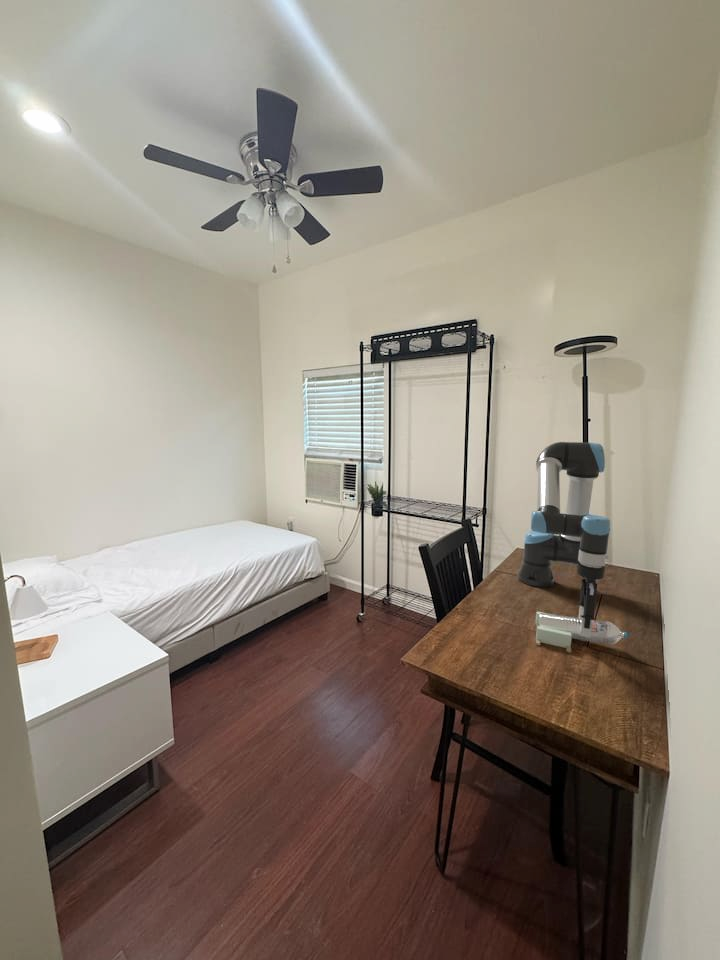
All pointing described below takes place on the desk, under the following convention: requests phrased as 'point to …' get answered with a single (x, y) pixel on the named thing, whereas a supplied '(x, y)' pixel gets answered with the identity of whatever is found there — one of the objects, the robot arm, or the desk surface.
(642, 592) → the desk surface
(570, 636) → the u rest
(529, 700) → the desk surface
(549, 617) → the water bottle
